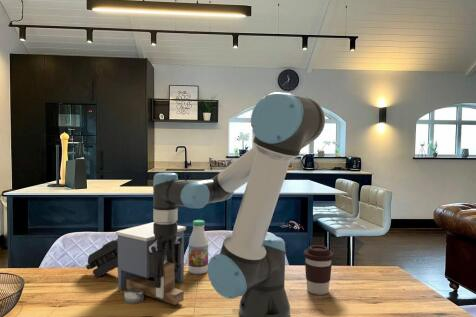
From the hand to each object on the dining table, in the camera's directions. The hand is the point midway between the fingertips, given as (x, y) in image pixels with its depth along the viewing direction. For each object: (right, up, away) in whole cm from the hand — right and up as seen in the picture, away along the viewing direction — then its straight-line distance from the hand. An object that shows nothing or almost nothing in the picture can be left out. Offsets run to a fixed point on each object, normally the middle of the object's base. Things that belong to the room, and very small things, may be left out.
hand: (165, 294), depth 114 cm
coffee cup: (+51, -3, +9) cm, 52 cm away
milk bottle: (+8, -1, +27) cm, 28 cm away
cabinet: (-7, -2, +13) cm, 15 cm away
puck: (-10, -2, +1) cm, 10 cm away
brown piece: (-4, -1, +3) cm, 5 cm away
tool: (-25, -1, +21) cm, 32 cm away
